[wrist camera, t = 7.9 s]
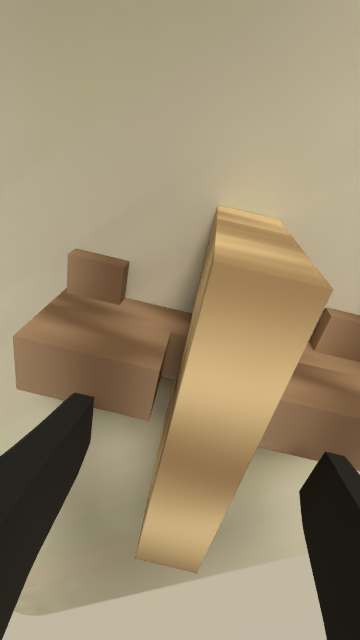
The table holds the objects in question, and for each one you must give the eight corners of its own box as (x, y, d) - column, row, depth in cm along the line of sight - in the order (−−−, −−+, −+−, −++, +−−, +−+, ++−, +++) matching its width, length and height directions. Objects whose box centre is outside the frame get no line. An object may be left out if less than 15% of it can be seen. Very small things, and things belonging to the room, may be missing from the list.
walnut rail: (67, 356, 17) (19, 422, 13) (71, 247, 14) (9, 288, 10) (326, 418, 17) (358, 503, 13) (384, 321, 14) (451, 392, 10)
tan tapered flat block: (205, 430, 18) (196, 573, 12) (164, 420, 18) (135, 558, 12) (278, 219, 12) (333, 289, 6) (218, 205, 12) (213, 261, 6)
